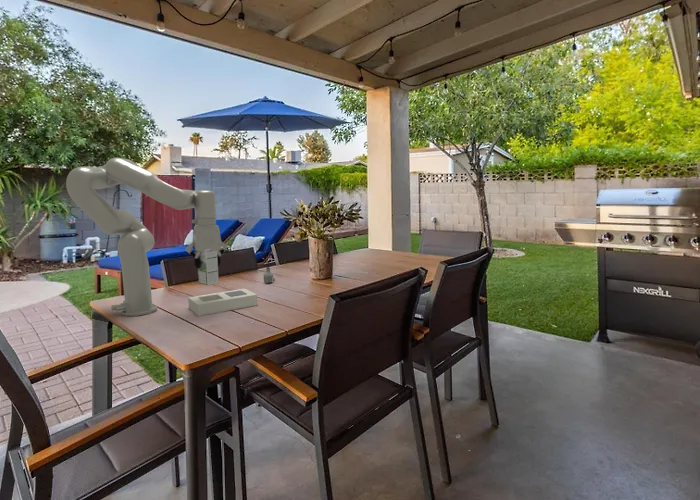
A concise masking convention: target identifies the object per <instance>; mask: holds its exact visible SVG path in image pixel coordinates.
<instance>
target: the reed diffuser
mask: <svg viewBox="0 0 700 500" xmlns="http://www.w3.org/2000/svg"><path fill="white" fill-rule="evenodd" d="M268 244H269V247H268V251H267V250H265V249H267V247H266V246H267V245H266V244H264V246H261V245H259V249H260V251H261V253H262V256H263V257H262V258H263V260H264V262H265V265H266V268H265V270H266V271H265V273H263V282H264V283H273V282H274V281H276V277H275V276H274V274H273V272H271V268H270V263H268V262H269V260H271V259H270V253H271V252H270V251H271V250H270V249H271V244H270V243H268ZM262 248H263V249H262ZM263 250H265V251H263ZM263 253H264V254H263ZM266 255H268V256H266Z"/></svg>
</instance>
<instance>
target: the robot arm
mask: <svg viewBox="0 0 700 500" xmlns="http://www.w3.org/2000/svg"><path fill="white" fill-rule="evenodd" d="M65 181H66V183H65V186H66V190H67V193H68V195H69V196H70V199H72V201H73V202H74V204H76V205H77V206H78V207H79V208H80V209H81V210H82V211H83V212H84V213H85V214H86V215H87V216H88V217H89V218H90V219H91V220H92V221H93V223H95V224H96V226H97V227H99V229H100V230H102V232H104V234H106V235H109V236H118V235H119V236H120V238H119V240H118V241H117V253H118V257H119V260H120V267H121V274H122V285H123V295H124V296H123V298H124V300H123V301H122V302H121V303H119V304H112V305H111V306H110V307H111V311H120V314H121V315H122V316H125V317H136V316H137V317H138V316H145V315H149V314H153V313H154V312H156V311H157V310H158V306H157V305H155V304H153V298H152V297H153V296H152V295H153V294H152V287H151V286H152V284H151V283H152V282H151V274H150V264H149V259H148V256H147V253H148V252H150V251H151V250H153V248H154V246H155V243H156V242H155V237H154V235H153V233H152V232H151V231H150V230H149V229H148V228H147V227H146V226H145V225H144V224H143V223H142V222H141V221H140V220H139V218H137V217H136V216H135V215H134V214H133V213H132V212H130V211H128V210H125V209H116V208H115V207H114V206H113V205H112V204H110V202H109V201H108V200H107V199H106V198H105V197H104V196H102V195H101V194H100V193H98V192H97V191H96V190H102V189H103V190H104V189H107V188H111V187H114V186H118V185H121V184H122V185H125V186H127V187H129V188H131V189H132V190H136V191H138V192H140V193H142V194H144V195H146V196H147V197H149V198H150V199H153V200H155V201H157V202H158V203H160V204H163V205H165V206H167V207H170V208H172V209H175V210H177V211H184V210H189V209H194V212H195V213H194V214H195V215H194V219H192V220H191V224H194V226H193V231H192V242H190V244H189V245H188V246H186V247H185V248H184V249H185V251H186V252H187V253H189V255H190V256H191V257H192V258H194V259H193V265H194V267H195V268H196V269H197V270H198V269H199V268H200V259H199V258H198V256H199V254H200V252H204V250H205V249H211V251H217V260H218V267H220V264H221V256H222V254H224V252H225V251H226V250H227V248H228V245H227V244H226V243H224V241H222V238H221V232H220V231H221V230H220V227H219V225H217V215H216V214H217V213H216V194H215V192H214V191H213V190H208V189H207V190H204V189H203V190H202V189H201V190H191V189H180V188H179V187H175V186H173V185H171V184H169V183H167V182H165V181H163V180H162V179H160V178H159V177H158V176H157V174H155V173H154V172H152V171H150V170H147V169H145V168H143V167H140V166H139V165H137V164H136V163H135V162H134V161H133V160H132V159H131V160H130V159H128V158H122V157H111V158H110V159H108V161H106V163H105V165H101V166H78V167H75V168H73V169H71V170H70V171H69V173H68V175H67V177H66V179H65ZM192 249H193V251H192Z"/></svg>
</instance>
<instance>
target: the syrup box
mask: <svg viewBox="0 0 700 500" xmlns="http://www.w3.org/2000/svg"><path fill="white" fill-rule="evenodd" d="M198 258H199V259H200V268H199V269H198V268H197V276H198V277H197V278H198V281H197V282H198V284H199V285H200V284H201V285H205V286H212V285H215V284H218V283H219V281H220V280H219V266H218V260H217V251H211V249H205V250H204V252H200V254H199V256H198Z"/></svg>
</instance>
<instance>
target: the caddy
mask: <svg viewBox="0 0 700 500" xmlns="http://www.w3.org/2000/svg"><path fill="white" fill-rule="evenodd" d="M187 299H188V300H187V301H188V309H189V310H190V311H192V312H193V313H194V314H195V315H196V316H198V317H200V316H205V315H206V316H207V315H211V314H217V313H222V312H223V313H224V312H227V311H233V310H239V309H244V308H249V307H250V308H251V307H255V306H258V294H257V293H255V292H253V291H250V290H249V289H247V288H239V289H234V290H226V291H221V292H214V293H208V294H202V295H195V296H189V297H187Z"/></svg>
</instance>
